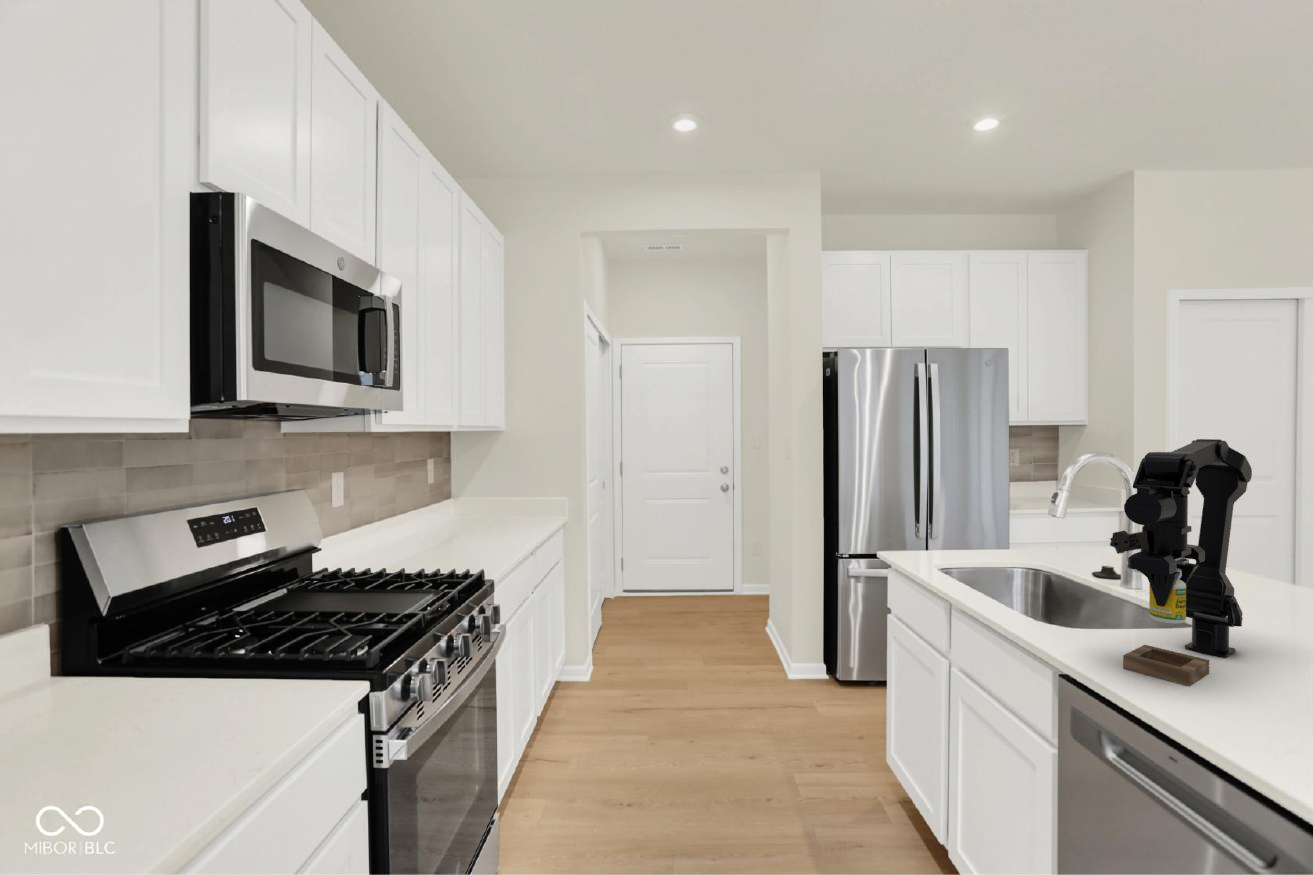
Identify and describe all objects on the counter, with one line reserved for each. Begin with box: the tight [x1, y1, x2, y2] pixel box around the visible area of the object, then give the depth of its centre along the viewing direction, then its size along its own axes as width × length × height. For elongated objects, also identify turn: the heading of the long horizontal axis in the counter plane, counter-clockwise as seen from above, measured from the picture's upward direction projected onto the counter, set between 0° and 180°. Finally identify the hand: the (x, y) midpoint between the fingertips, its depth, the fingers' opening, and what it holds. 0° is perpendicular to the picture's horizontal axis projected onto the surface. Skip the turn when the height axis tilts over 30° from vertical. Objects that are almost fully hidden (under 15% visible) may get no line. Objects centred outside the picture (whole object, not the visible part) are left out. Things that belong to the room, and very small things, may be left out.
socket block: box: [1122, 644, 1210, 687], centre depth 119 cm, size 10×10×2 cm
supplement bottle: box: [1148, 568, 1187, 625], centre depth 119 cm, size 5×5×10 cm
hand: (1166, 603), depth 119 cm, fingers closed on supplement bottle, 5 cm apart
